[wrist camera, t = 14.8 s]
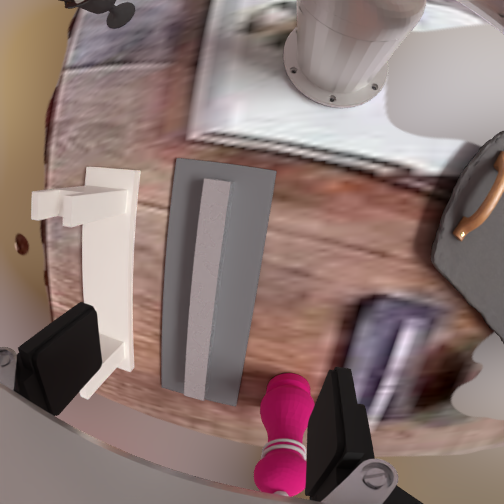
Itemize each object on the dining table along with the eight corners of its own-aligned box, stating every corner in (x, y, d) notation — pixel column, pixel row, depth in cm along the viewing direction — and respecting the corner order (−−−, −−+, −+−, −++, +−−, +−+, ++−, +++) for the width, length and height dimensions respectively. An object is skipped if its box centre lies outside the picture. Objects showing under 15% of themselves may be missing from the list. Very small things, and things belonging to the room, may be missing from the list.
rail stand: (92, 166, 37) (29, 167, 25) (140, 170, 36) (80, 170, 24) (94, 352, 44) (51, 392, 32) (134, 367, 44) (95, 414, 32)
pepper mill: (255, 396, 42) (231, 508, 23) (276, 362, 40) (260, 481, 21) (298, 412, 42) (294, 522, 22) (322, 380, 40) (331, 496, 20)
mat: (178, 158, 35) (176, 158, 35) (276, 171, 34) (276, 171, 34) (162, 385, 44) (161, 387, 43) (236, 404, 43) (235, 406, 42)
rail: (210, 178, 35) (204, 178, 32) (235, 181, 35) (230, 182, 32) (188, 385, 42) (183, 395, 40) (208, 390, 42) (203, 400, 40)
